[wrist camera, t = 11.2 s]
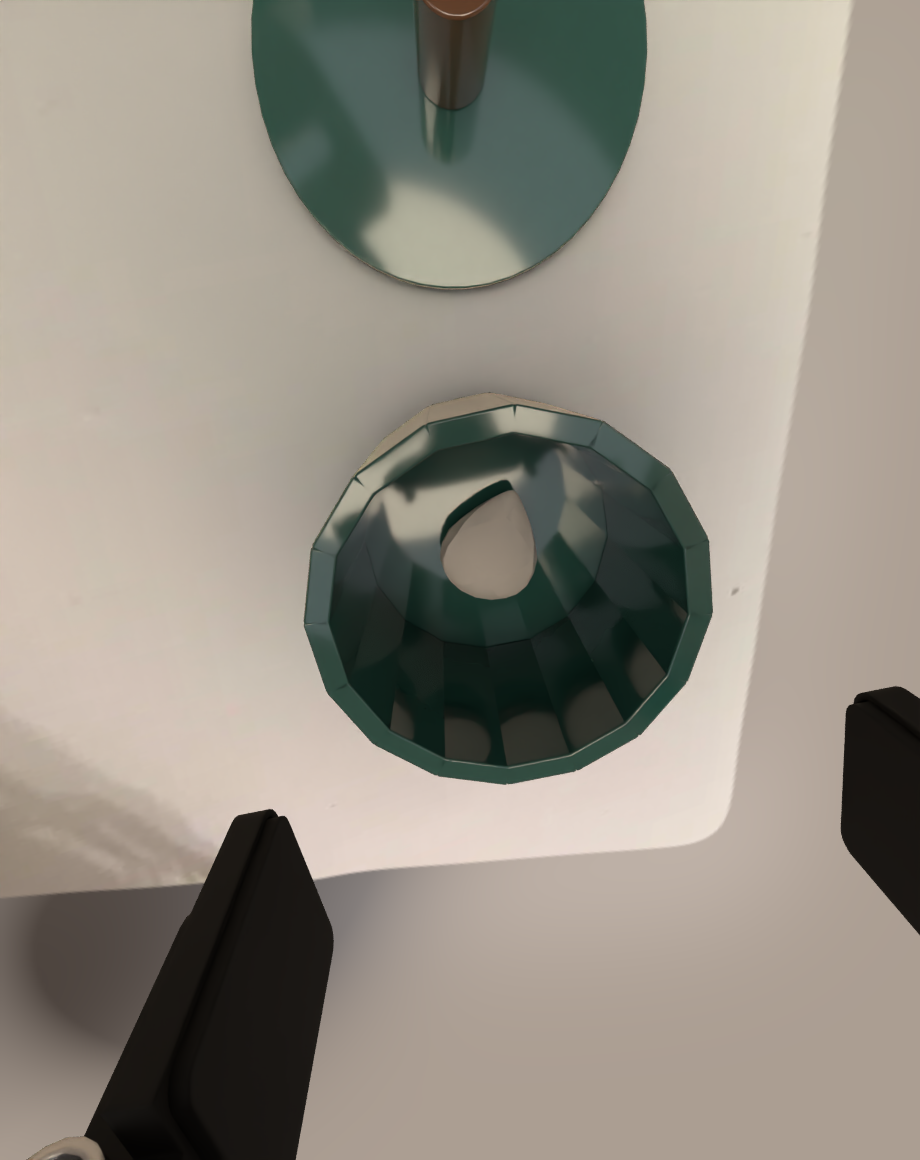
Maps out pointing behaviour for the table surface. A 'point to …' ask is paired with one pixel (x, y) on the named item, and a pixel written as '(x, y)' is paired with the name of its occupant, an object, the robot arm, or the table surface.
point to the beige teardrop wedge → (491, 549)
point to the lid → (450, 124)
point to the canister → (520, 622)
